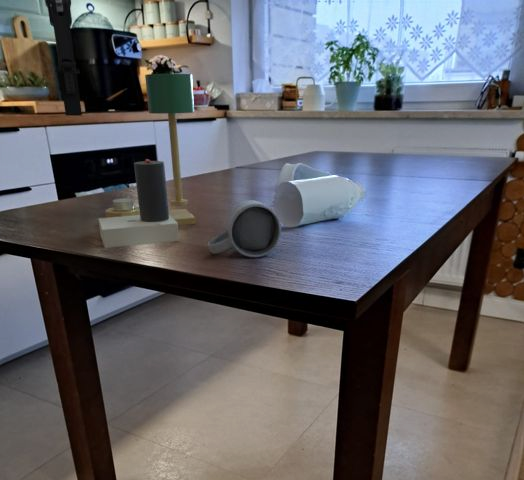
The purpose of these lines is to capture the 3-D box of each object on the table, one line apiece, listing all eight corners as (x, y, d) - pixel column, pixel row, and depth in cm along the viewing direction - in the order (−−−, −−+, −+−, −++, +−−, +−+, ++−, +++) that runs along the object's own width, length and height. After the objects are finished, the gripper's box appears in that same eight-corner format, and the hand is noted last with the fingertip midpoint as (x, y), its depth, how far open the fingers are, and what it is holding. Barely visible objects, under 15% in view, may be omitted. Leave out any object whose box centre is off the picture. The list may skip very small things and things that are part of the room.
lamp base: (109, 231, 92) (107, 214, 91) (105, 221, 100) (103, 205, 99) (195, 224, 97) (194, 207, 96) (185, 214, 105) (184, 199, 103)
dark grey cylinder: (171, 220, 86) (166, 161, 82) (142, 222, 85) (135, 162, 80) (166, 214, 90) (161, 158, 86) (138, 217, 89) (131, 159, 85)
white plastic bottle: (373, 217, 101) (376, 174, 97) (300, 231, 91) (301, 184, 87) (343, 210, 107) (346, 170, 103) (272, 223, 96) (272, 179, 93)
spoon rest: (291, 183, 141) (291, 155, 137) (333, 185, 137) (334, 156, 134) (261, 198, 121) (260, 165, 117) (309, 200, 117) (310, 167, 114)
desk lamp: (162, 209, 94) (148, 73, 85) (155, 202, 101) (142, 75, 91) (204, 206, 97) (196, 73, 87) (195, 199, 104) (186, 75, 94)
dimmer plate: (104, 248, 82) (101, 228, 81) (100, 235, 90) (97, 217, 88) (188, 240, 86) (186, 221, 85) (177, 228, 94) (176, 211, 92)
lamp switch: (114, 214, 94) (113, 202, 93) (113, 210, 97) (111, 199, 96) (135, 212, 95) (133, 201, 94) (132, 209, 98) (131, 197, 97)
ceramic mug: (272, 242, 84) (271, 193, 80) (282, 256, 77) (281, 203, 73) (206, 247, 82) (203, 197, 79) (210, 261, 75) (206, 207, 72)
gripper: (77, -60, 76) (98, 116, 86) (74, -41, 87) (94, 113, 97) (21, -65, 73) (50, 116, 84) (26, -45, 84) (51, 114, 95)
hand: (73, 115), depth 91 cm, fingers closed
